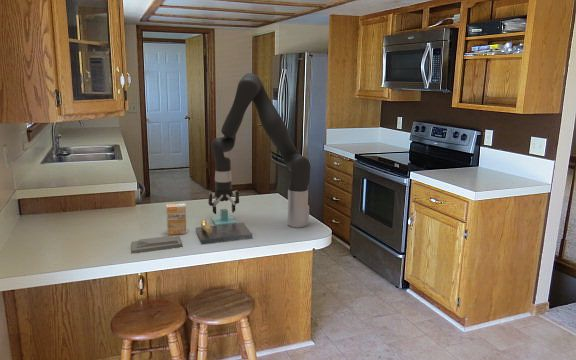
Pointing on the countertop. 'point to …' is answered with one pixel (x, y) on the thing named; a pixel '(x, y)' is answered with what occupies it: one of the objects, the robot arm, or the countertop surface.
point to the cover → (224, 218)
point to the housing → (224, 233)
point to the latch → (205, 226)
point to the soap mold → (156, 244)
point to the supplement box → (176, 219)
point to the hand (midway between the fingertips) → (224, 212)
